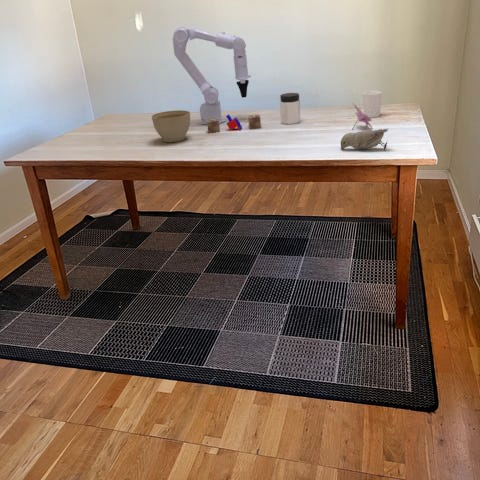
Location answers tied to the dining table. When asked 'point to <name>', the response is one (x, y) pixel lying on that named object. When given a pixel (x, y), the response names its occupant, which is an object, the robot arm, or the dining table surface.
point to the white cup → (372, 103)
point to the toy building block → (233, 123)
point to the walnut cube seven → (213, 125)
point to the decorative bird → (363, 139)
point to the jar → (290, 108)
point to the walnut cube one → (254, 122)
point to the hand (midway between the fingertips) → (244, 97)
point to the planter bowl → (172, 124)
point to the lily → (362, 117)
